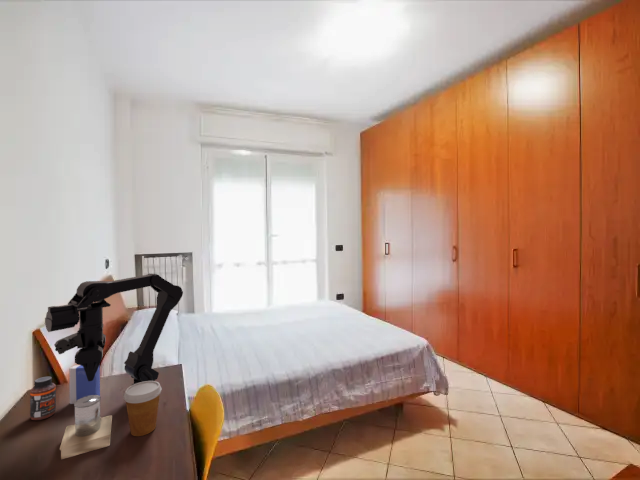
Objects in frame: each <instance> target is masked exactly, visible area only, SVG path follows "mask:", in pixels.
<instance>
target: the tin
mask: <svg viewBox="0 0 640 480" xmlns="http://www.w3.org/2000/svg"><path fill="white" fill-rule="evenodd" d="M73 406H74V424H75V435H76V436H78V437H84V436H88V435H91V434H93V433H95V432H97V431H98V430H99V429H100V427H101V423H100V418H101V395H100V396H99V395H90V396H86V397H83V398H80V399H78V400H77V401H76V402H75V403H74V404H73Z"/></svg>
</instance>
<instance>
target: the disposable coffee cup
mask: <svg viewBox="0 0 640 480" xmlns="http://www.w3.org/2000/svg"><path fill="white" fill-rule="evenodd" d="M133 384H134V383H133ZM161 393H162V386H161V384H160V382H159V381H156V380H155V381H144V382H139V383H136V384H134V385H132V384H131V385H130V386H128V387H127V388H126V389H125V392H124V394H123V397H122V398H123V400H124V401H125V405H126V412H127V417H128V425H129V431H130V432H129V433H130V435H131V436H134V437H143V436H146V435H148V434H150V433H152V432H153V431H154V430H155V429H156V428H157V427H156V426H157V421H158V412H159V406H160V405H159V403H160V396H161Z"/></svg>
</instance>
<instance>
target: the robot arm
mask: <svg viewBox="0 0 640 480" xmlns="http://www.w3.org/2000/svg"><path fill="white" fill-rule="evenodd" d="M148 287H150V288H151V289H152V290H153V291H155V292H156V293H157V294H156V307H155V310H154V312H153V314H152V317H151V318H150V321H149V324H148V326H147V327H146V328H147V329H146V331H145V333H144V334H143V337H142V340H141V341H140V343H139V346H138V348H137V349H135V350H134V352H133V351H129V353H128V355H127V358H126V359H125V361H124V362H123V364H124V371H125V373H126V374H128V375H129V376H130V377H131V378H132V379H133V383H131V386H132V385H134V384H136V383H139V382H144V381H156V380H158V377H159V374H160V372H158V371H157V370H155V369H153V365H154V351H155V349H156V346H157V344H158V341H159V340H160V337H161V334H162V332H163V329H164V327H165V325H166V322H167V321H168V318H169V316H170V314H171V311H172V310H173V309H174V308H175V307H176V306H177V305H178V304H179V303H180V301H181V299H182V297H183V294H184V291H183V289H182V287H181V286H180V285H175V284H174V283H172V282H169V281H168V280H167V279H165V278H163V277H162V276H160V275H159V274H157V273H147V274H144V275H139V276H133V277H127V278H122V279H115V280H93V281H92V280H90V281H89V280H88V281H83V282H82V283H80V284H78V286H77V288H76V293H75V294H74V295H73V297H71V299H70V300H69V301H68V302H67V304H65V305H54V306H53V305H52V306H48V307H47V312H46V313H45V314H46V315H45V317H44V324H45V328H46V331H47V332H48V333H51V332H56V331H61V330H65V329H66V330H67V329H71V328H75V326H77V325H78V324H79V328H78V330H77V332H75V333H72V334H70V335H68V336H66V337H62V338H60V339H58V340H56V342H55V343H54V347H55V349H54V351H55V352H57V353H58V355H62V354H65V352H67V351H70V350H72V349H74V348H76V349H77V351H76V353H75V355H74V364H76V365H81V366H83V368H84V370H85V373H86V376H87V379H88V381H93V379H94V376H95V374H96V372H97V369H98V367H99V365H101V362H102V360H103V356H104V355H103V354H104V348H105V346H106V341H107V339H106V338H107V337H106V336H107V335H106V334H104V323H103V322H104V318H103V317H104V315H103V313H104V312H103V311H104V310H103V309H104V308H108V307H109V308H110V307H111V304H110V303H109V302H107V301H106V299H108V298H110V297H112V296H114V295H116V294H119V293H125V292H129V291H132V290H138V289H144V288H148ZM78 349H79V350H78Z"/></svg>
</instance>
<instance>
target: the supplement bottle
mask: <svg viewBox="0 0 640 480" xmlns="http://www.w3.org/2000/svg"><path fill="white" fill-rule="evenodd" d="M52 379H53V378H52V376H43V377H39V378H37V379H35V380H34V384H33V385H34V386H33V387H31V389H30V391H29V396H30V397H29V406H30V407H29V409H30V410H29V416H30V419H31V420H32V421H42V420H45V419H47V418H50V417H52V416H53V415H54V414H55V413H56V409H57V404H56V403H57V402H56V401H57V397H56V396H57V393H56V392H57V390H56V389H57V388H56V387H57V386H56V384H55V383H54V382H52V381H53V380H52Z"/></svg>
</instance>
